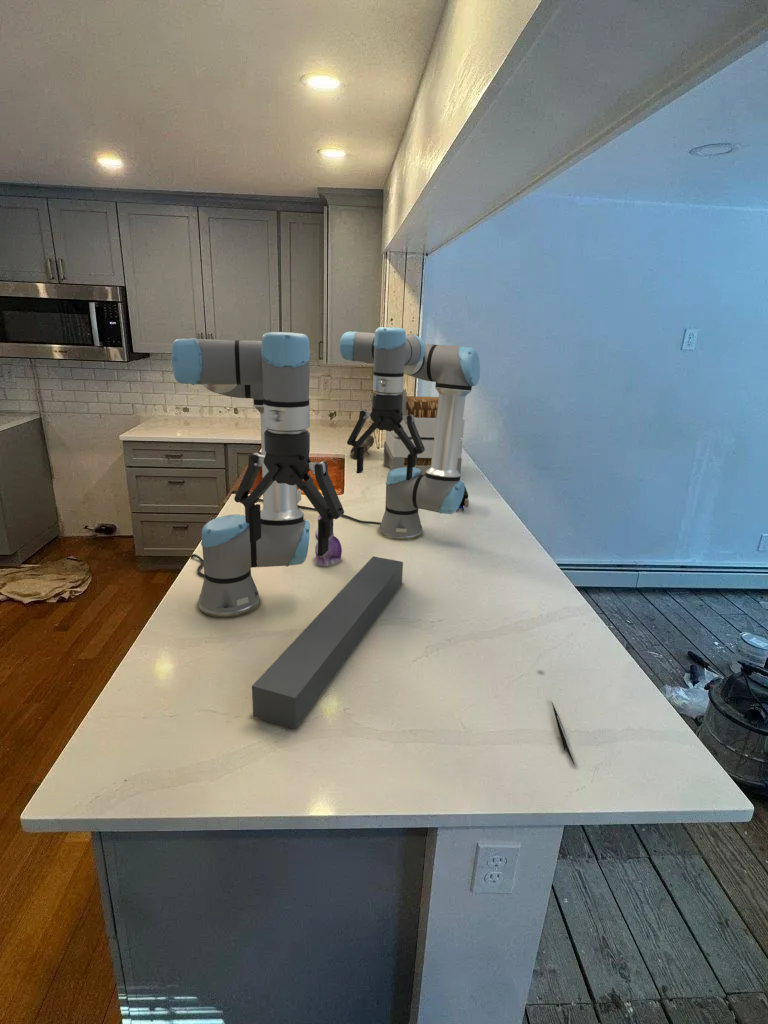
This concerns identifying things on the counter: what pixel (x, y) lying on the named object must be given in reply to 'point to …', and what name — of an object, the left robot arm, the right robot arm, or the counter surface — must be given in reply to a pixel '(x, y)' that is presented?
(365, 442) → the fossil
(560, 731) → the feather
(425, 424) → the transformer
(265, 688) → the thick board
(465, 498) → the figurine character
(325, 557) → the figurine
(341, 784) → the counter surface
